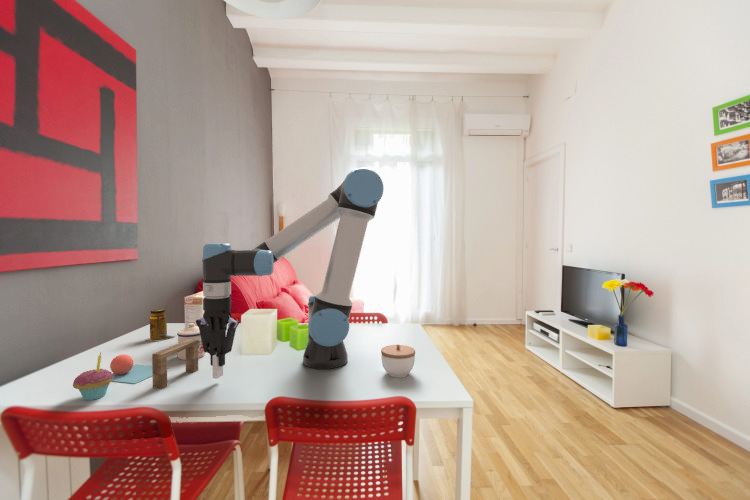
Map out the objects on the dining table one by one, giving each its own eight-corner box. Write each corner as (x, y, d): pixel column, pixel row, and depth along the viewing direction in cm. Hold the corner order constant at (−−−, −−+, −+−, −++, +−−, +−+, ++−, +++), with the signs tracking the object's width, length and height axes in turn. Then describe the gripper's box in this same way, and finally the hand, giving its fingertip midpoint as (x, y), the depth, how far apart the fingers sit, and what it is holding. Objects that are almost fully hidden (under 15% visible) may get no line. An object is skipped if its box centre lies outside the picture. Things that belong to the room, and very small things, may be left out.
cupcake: (120, 390, 104) (119, 347, 103) (99, 403, 95) (98, 357, 95) (89, 390, 103) (88, 347, 103) (64, 404, 95) (63, 357, 94)
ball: (129, 374, 118) (141, 363, 117) (112, 381, 112) (124, 370, 111) (119, 359, 119) (131, 348, 118) (101, 365, 113) (114, 353, 112)
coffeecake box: (203, 336, 158) (203, 290, 157) (220, 336, 158) (219, 290, 157) (184, 347, 143) (183, 296, 142) (202, 347, 143) (201, 296, 142)
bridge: (198, 370, 119) (198, 340, 119) (161, 388, 105) (161, 354, 104) (190, 369, 120) (189, 339, 119) (152, 387, 105) (152, 353, 105)
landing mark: (169, 368, 120) (169, 367, 120) (135, 384, 108) (135, 383, 108) (135, 364, 123) (135, 364, 123) (98, 379, 111) (98, 379, 111)
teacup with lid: (197, 361, 128) (196, 327, 127) (171, 360, 128) (171, 326, 128) (214, 350, 139) (214, 319, 139) (191, 349, 140) (191, 318, 140)
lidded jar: (375, 370, 121) (376, 341, 120) (405, 366, 124) (406, 338, 124) (388, 382, 111) (389, 351, 110) (420, 378, 114) (421, 347, 114)
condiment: (145, 339, 153) (144, 310, 152) (165, 334, 160) (164, 307, 160) (156, 342, 149) (155, 312, 149) (176, 337, 157) (175, 308, 156)
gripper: (188, 297, 106) (189, 379, 107) (229, 299, 103) (230, 383, 104) (206, 293, 113) (206, 370, 114) (244, 295, 110) (245, 373, 111)
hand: (217, 376), depth 109 cm, fingers closed
